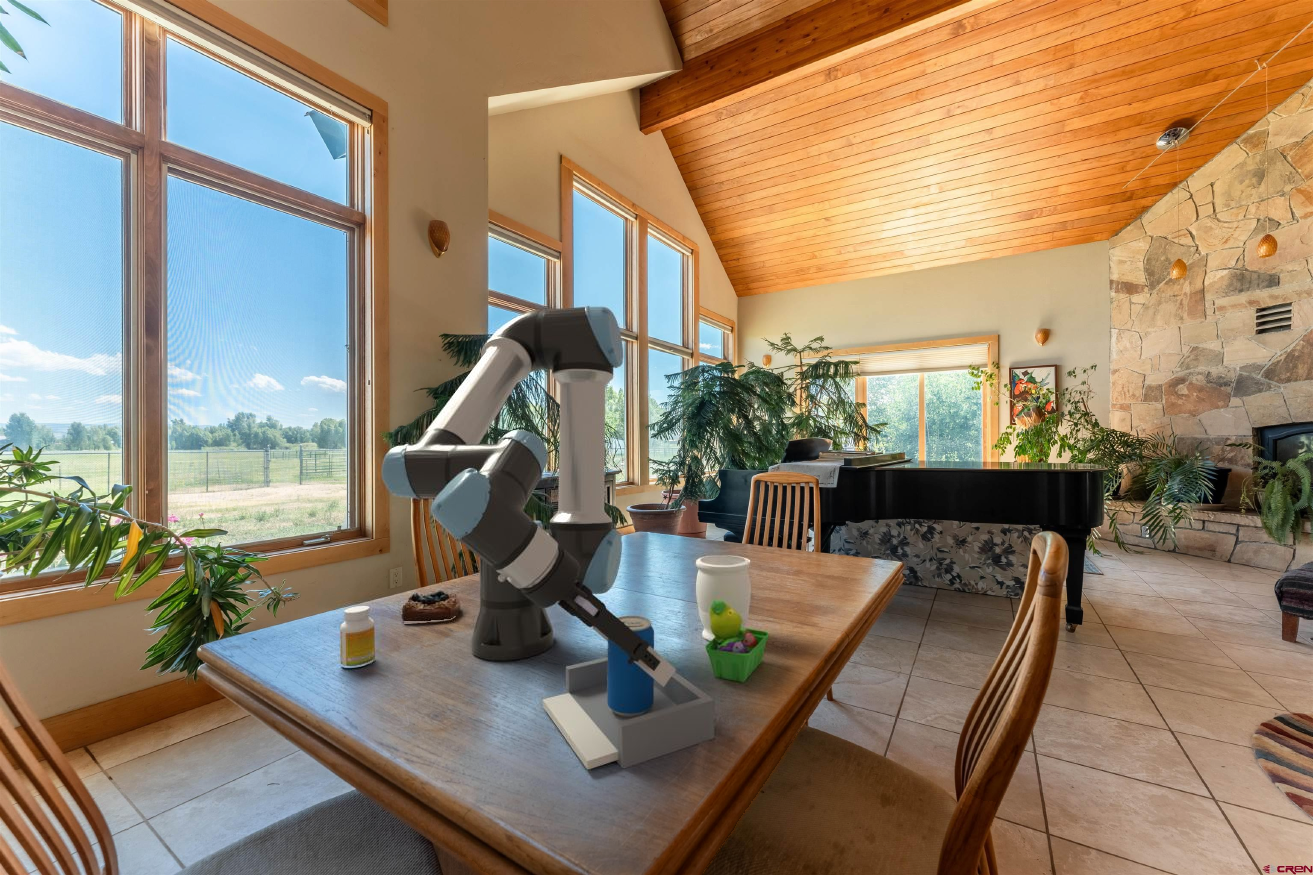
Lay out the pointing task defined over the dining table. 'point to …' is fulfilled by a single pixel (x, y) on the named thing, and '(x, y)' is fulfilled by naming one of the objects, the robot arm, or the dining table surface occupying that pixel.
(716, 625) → the fruit basket
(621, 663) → the beverage can
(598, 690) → the tray
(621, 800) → the dining table surface
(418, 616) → the pastry
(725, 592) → the jar
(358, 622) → the supplement bottle
